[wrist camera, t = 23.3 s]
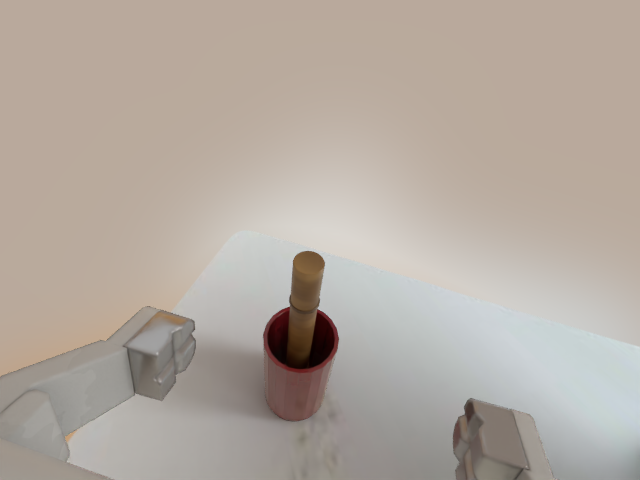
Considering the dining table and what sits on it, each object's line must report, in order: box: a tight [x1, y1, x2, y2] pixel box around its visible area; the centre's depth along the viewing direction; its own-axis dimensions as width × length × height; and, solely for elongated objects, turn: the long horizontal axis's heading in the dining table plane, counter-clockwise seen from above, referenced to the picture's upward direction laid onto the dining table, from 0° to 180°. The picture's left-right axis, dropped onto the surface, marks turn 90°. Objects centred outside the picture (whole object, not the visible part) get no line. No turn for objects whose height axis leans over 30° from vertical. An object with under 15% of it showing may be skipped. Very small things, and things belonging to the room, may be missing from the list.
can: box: [263, 307, 339, 421], centre depth 35 cm, size 7×7×12 cm
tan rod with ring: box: [285, 251, 325, 369], centre depth 32 cm, size 2×2×21 cm
